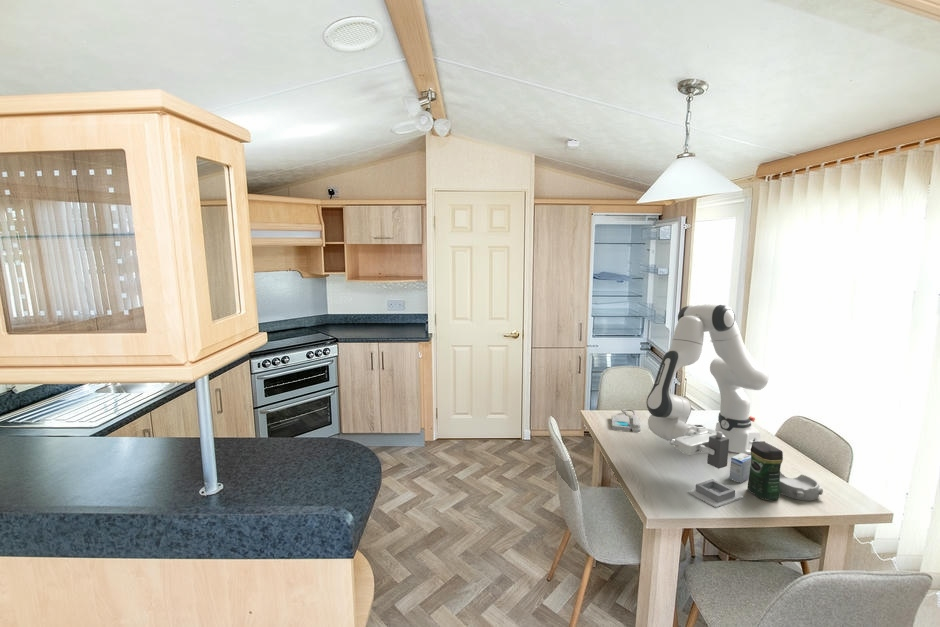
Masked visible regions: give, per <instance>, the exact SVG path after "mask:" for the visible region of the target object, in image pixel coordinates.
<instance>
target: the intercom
mask: <svg viewBox="0 0 940 627" xmlns="http://www.w3.org/2000/svg"><path fill="white" fill-rule="evenodd" d="M628 411H629V412H631V413H633V414H632V415H631V417H629V415H628ZM621 412H622V414H624V415H621V414H612V415H611V430H612V429H614V430H613V431H617V430H622V431H621V432H627V431H630V432H632V431H633V433H636V432H640V433H641V431H642V427H641V422H640V418H639V415H637V414H636V411H635V410H634V409H631V408H623V409H621Z"/></svg>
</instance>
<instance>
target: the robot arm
mask: <svg viewBox="0 0 940 627" xmlns="http://www.w3.org/2000/svg"><path fill="white" fill-rule="evenodd" d="M706 332H708V333H709V337H710V340H711V342H712V346H713V348H714V351H715V353H716V355H717V356H718V357H715V358H714V359H712V361H711V362H710V365H709V373H711V375H712V376H713V378H714V380H715V381H716V383H717V387H718V390H719V394H720V409H719V410H720V411H719V413H718V417H717V418H718V420H717V421H718V422H716V425H715V428H714V429H712V428H707V427H706V425H705V424H690V423H687V422H688V420H689V417H690V416H691V413H692V406H691V402H690V401H689V399H688V398H686V397H685V396H681V395H677V394H673V393H671V388H672V385H673V382H674V379H675V376H676V373H677V371H678V370H679V369H681V368H683V367H686V366H691V365H693V364H695V363H696V362H698V360H699V359H700V357H701V354H702V350H703V344H704V343H703V342H704V337H705V336H704V335H705V333H706ZM768 383H769V374H768V372H767V370H766V369H764V368H763V367H762V366H760V364H759V363H758V362H757V361H756V360H755V359H754V358H753V356H752V355H751V353H750V352H749V351H748V349H747V348H746V345H745V343H744V341H743V337H742V335H741V332H740V329H739V326H738V324H737V322H736V315H735V312H734V311H733V309H732V308H731V307H730V306H727V305H725V304H723V305H722V304H718V305H717V304H701V305H699V304H697V305H687V306H686V305H685V306H683V307H682V308H681V309H680V310H679V312H678V315H677V323H676V326H675V329H674V331H673V336H672V340H671V345H670V347H669V349H668V351H667V352H666V353H665V354H664V356H663V357H662V359H661V361H660V364H659V368H658V370H657V375H656V377H655V380H654V383H653V386H652V387H651V390H650V392H649V393H648V396H647V398H646V402H645V403H646V408H647V411H648V412H649V414H650V415H649V417H648V419H647V426H648V429H649V430H650V431H651V433H653V434H654V435H655V436H657V437H659V438H661V439H662V440H665V441H668V442H669V444H670V445H671V446H674V448H675V449H676V450H678V451H679V452H681V453H683V454H684V455H687V456H688V455H689V456H691V455H695V454H698V453H705V454H708V453H709V454H711V455H714V454H716V449H714V448H708V445H709V436H713V435H716V433H717V431H720V432H722V436H723V437H725V438H728V439H729V448H728V452H732V453H735V454H736V453H738V454H740V453H744V454H747V455H751V446H752V444H753V443H754V442H757V441H761V433H760V432H759V430H757V429H756V428H755V427H754V426H753V425H752V422H755V420H756V417H755V416H751V415H750V411H751V410H750V408H751V400H750V398H749V396H748V395H747V394H746V393H745V391H744V390H751V391H761V390H763V389H765V387H766V386H767V384H768Z"/></svg>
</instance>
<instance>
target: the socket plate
mask: <svg viewBox="0 0 940 627" xmlns="http://www.w3.org/2000/svg"><path fill="white" fill-rule="evenodd" d="M687 493H688V494H689V495H691V496H694V497H696V498H697V499H699V500H701V501H702V500H703V502H704V501H705V502H704V503H706V504H708V505H710V506H712V507H713V506H714V508H715V509H717V508H719V506H720V507H722V506H725V505H727V504H730V502H731V503H732V502H736V501H739V500H741V498H742V499H743V496H742V495H740V494H738V493H737V492H736V489H733V488H731V487H729V486H727V485H726V484H724V483H721V482H719V481H718V480H715V479H712V478H711V479H708V480H705V481H703V482H700V483H699V482H698V483H696V485H695V488H693V489H690V490H687Z"/></svg>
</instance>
